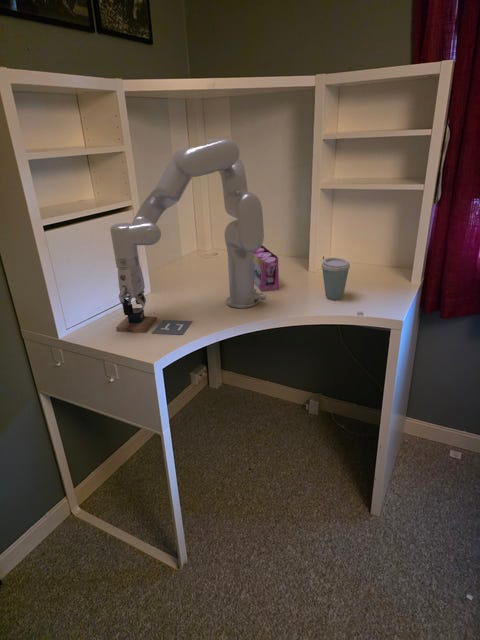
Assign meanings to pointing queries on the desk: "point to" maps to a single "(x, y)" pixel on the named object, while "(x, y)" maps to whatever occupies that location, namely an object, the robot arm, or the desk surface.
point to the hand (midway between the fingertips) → (135, 309)
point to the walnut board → (137, 325)
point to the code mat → (172, 327)
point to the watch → (138, 310)
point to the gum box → (266, 269)
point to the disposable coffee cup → (335, 277)
